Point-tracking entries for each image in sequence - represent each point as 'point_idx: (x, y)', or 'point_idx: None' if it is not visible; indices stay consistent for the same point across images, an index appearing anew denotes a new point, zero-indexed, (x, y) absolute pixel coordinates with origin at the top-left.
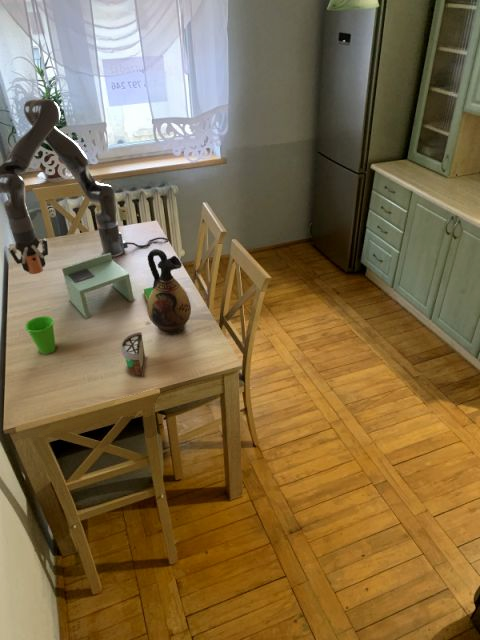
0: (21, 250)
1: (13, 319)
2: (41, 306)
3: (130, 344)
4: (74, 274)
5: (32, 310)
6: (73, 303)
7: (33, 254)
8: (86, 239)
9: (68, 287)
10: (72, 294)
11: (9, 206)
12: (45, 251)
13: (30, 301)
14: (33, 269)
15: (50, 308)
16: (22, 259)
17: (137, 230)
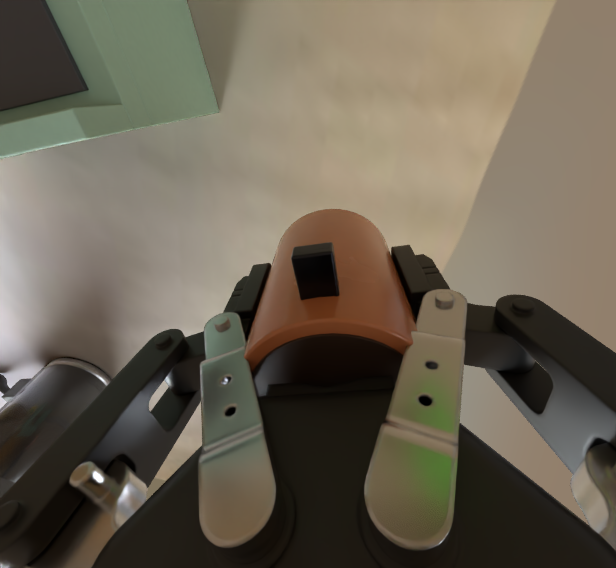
0: (500, 478)
1: (521, 72)
2: (359, 138)
3: None
4: (18, 58)
5: (407, 120)
6: (202, 61)
7: (299, 349)
8: (173, 459)
9: (162, 73)
10: (151, 2)
11: None
12: (150, 366)
13: (390, 214)
14: (354, 229)
15: (323, 88)
16: (463, 329)
17: None
